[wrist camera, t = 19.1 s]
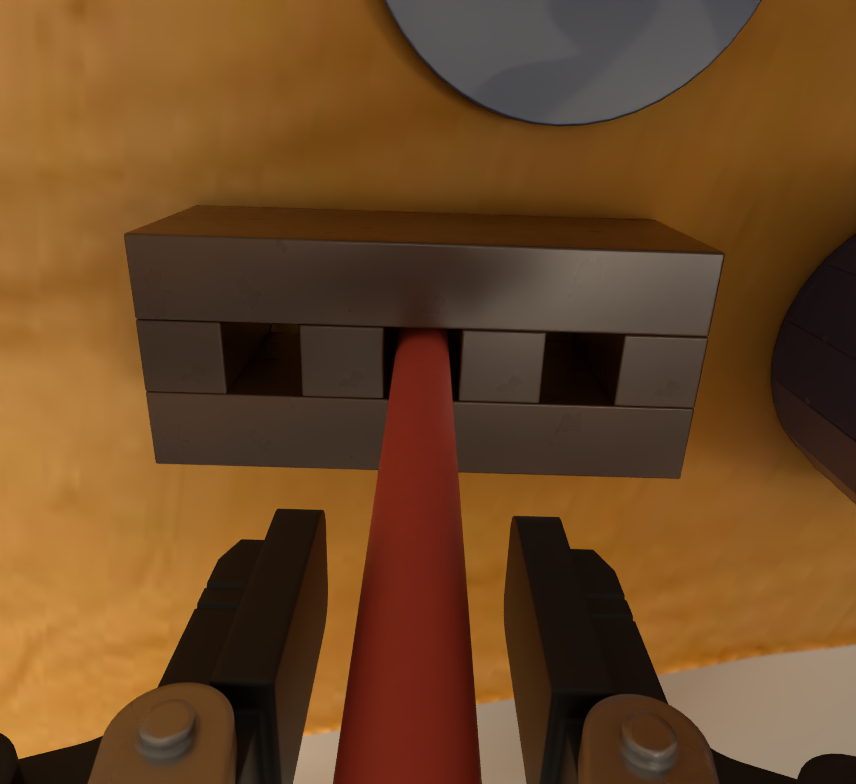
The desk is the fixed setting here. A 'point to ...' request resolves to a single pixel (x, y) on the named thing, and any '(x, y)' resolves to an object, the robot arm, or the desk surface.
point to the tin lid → (568, 51)
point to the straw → (413, 595)
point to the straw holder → (421, 308)
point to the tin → (821, 369)
